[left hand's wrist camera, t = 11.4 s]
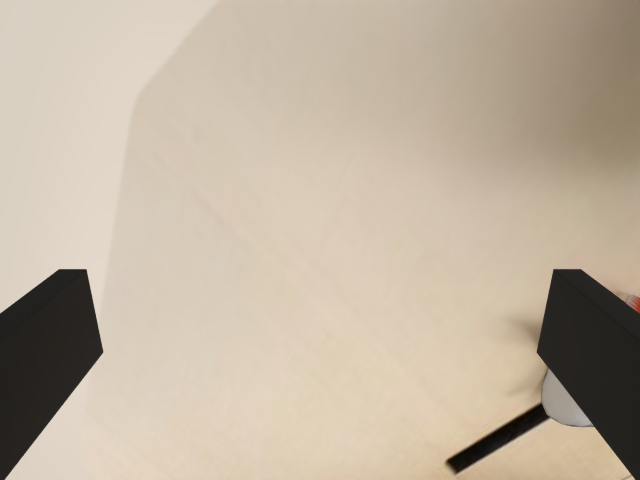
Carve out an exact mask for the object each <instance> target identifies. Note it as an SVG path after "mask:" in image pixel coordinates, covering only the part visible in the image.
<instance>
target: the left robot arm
mask: <svg viewBox="0 0 640 480" xmlns="http://www.w3.org/2000/svg"><path fill="white" fill-rule="evenodd" d="M102 353H103V348H102V343H101V338H100V334H99V329H98V324H97V319H96V314H95V309H94V304H93V299H92V294H91V289H90V284H89V280H88V275H87V270H86V269H59V270H58V271H56V272H55V273H54V274H52V275H51V276H50V277H48V278H47V279H46V280H44V281H43V282H42V283H40V284H39V285H38V286H36V287H35V288H34V289H32V290H31V291H30V292H28V293H27V294H26V295H24V296H23V297H22V298H20V299H19V300H18V301H16V302H15V303H14V304H12V305H11V306H10V307H8V308H7V309H6V310H4V311H3V312H2V313H0V480H5V478H6V477H7V476H8V475H9V473H10V472H11V471H12V469H13V468H14V467H15V465H16V464H17V463H18V462H19V460H20V459H21V458H22V456H23V455H24V454H25V453H26V451H27V450H28V449H29V447H30V446H31V445H32V444H33V442H34V441H35V440H36V438H37V437H38V436H39V435H40V433H41V432H42V431H43V429H44V428H45V427H46V426H47V424H48V423H49V422H50V420H51V419H52V418H53V417H54V415H55V414H56V413H57V411H58V410H59V409H60V408H61V406H62V405H63V404H64V402H65V401H66V400H67V399H68V397H69V396H70V395H71V393H72V392H73V391H74V389H75V388H76V387H77V386H78V384H79V383H80V382H81V380H82V379H83V378H84V377H85V375H86V374H87V373H88V371H89V370H90V369H91V368H92V366H93V365H94V364H95V362H96V361H97V360H98V359H99V357H100V356H101V355H102ZM537 353H538V355H539V356H540V357H541V359H542V360H543V361H544V362H545V364H546V365H547V366H548V368H549V369H550V370H551V371H552V373H553V374H554V375H555V377H556V378H557V379H558V380H559V382H560V383H561V384H562V386H563V387H564V388H565V390H566V391H567V392H568V393H569V395H570V396H571V397H572V399H573V400H574V401H575V402H576V404H577V405H578V406H579V408H580V409H581V410H582V411H583V413H584V414H585V415H586V417H587V418H588V419H589V420H590V422H591V423H592V424H593V426H594V427H595V428H596V429H597V431H598V432H599V433H600V435H601V436H602V437H603V438H604V440H605V441H606V442H607V444H608V445H609V446H610V447H611V449H612V450H613V451H614V453H615V454H616V455H617V457H618V458H619V459H620V460H621V462H622V463H623V464H624V466H625V467H626V468H627V469H628V471H629V472H630V473H631V475H632V476H633V477H634V478H635V480H640V313H638V312H637V311H636V310H634V309H633V308H632V307H630V306H629V305H628V304H626V303H625V302H624V301H622V300H621V299H620V298H618V297H617V296H616V295H614V294H613V293H612V292H610V291H609V290H608V289H606V288H605V287H604V286H602V285H601V284H600V283H598V282H597V281H596V280H594V279H593V278H592V277H590V276H589V275H588V274H586V273H585V272H584V271H582V270H581V269H554V270H553V275H552V280H551V284H550V289H549V294H548V299H547V304H546V309H545V314H544V319H543V324H542V329H541V334H540V338H539V343H538V348H537Z"/></svg>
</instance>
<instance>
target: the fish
mask: <svg viewBox="0 0 640 480" xmlns="http://www.w3.org/2000/svg"><path fill="white" fill-rule="evenodd" d="M626 304H628V305H629V306H630V307H632V308H633V309H634V310H636V311H637V312H638V313H640V298H639V297H636V296H633V295H629V296H628V298H627V300H626ZM541 402H542V405H543V407H544V409H545V411H546V413H547V415H548V416H550V417H551V418H552V419H554V420H555V421H557V422H559V423H561V424H564V425H568V426H575V427H594V426H593V424H592V423H591V422H590V420H589V419H588V418H587V417H586V415H585V414H584V413H583V411H582V410H581V409H580V408H579V406H578V405H577V404H576V402H575V401H574V400H573V399H572V397H571V396H570V395H569V393H568V392H567V391H566V390H565V388H564V387H563V386H562V384H561V383H560V382H559V380H558V379H557V378H556V377H555V375H554V374H553V373H552V371H551V370H550V369H548V371H547V373H546V375H545V378H544V382H543V385H542V391H541Z"/></svg>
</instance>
